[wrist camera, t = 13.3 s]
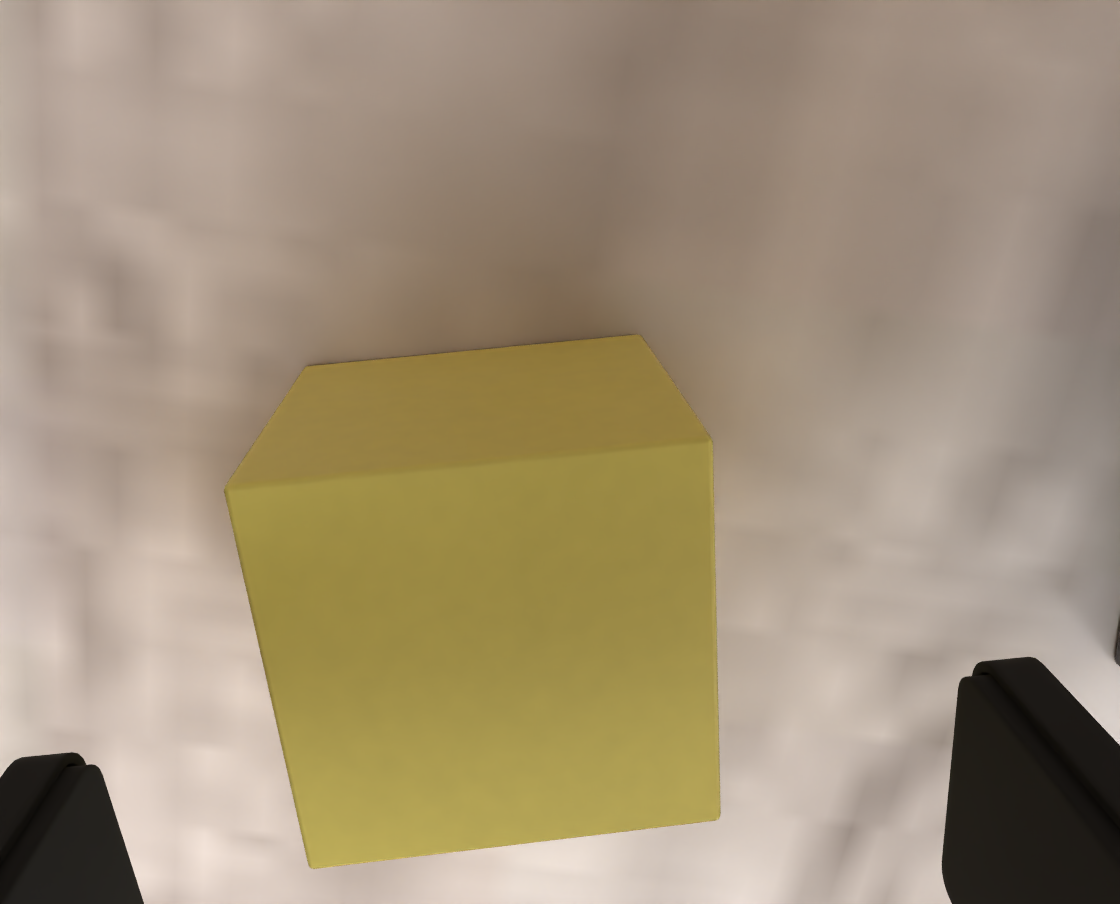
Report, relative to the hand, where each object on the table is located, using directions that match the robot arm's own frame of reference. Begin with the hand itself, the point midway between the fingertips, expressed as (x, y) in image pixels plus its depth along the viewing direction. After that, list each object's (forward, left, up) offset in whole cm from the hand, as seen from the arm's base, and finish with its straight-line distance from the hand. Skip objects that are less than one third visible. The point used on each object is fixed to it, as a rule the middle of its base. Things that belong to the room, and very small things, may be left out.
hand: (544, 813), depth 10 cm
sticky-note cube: (+1, 0, -9) cm, 9 cm away
